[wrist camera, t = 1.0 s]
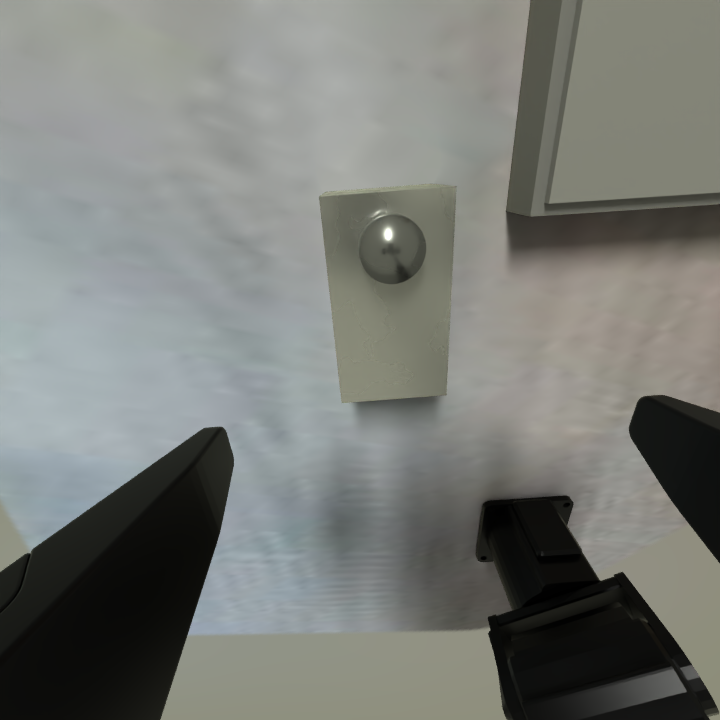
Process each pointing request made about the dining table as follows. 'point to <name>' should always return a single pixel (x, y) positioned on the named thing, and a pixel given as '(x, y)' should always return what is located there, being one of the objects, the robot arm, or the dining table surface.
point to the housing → (390, 288)
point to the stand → (618, 107)
